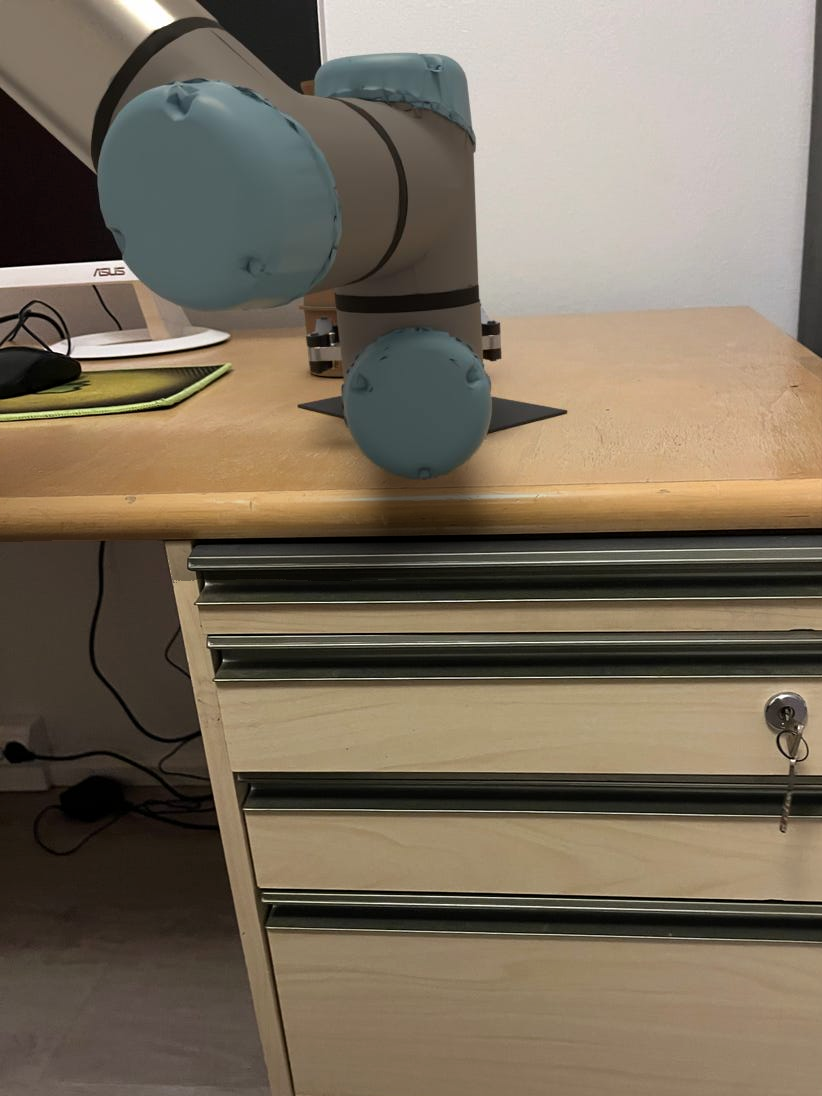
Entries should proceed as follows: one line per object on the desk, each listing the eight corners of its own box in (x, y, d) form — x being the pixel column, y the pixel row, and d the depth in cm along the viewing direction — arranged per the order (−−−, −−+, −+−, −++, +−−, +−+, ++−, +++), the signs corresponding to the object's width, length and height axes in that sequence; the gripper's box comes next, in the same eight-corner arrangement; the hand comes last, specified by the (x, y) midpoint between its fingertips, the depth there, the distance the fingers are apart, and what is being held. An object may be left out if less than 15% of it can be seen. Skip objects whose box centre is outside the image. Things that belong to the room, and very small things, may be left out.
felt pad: (297, 406, 83) (297, 404, 83) (410, 383, 90) (410, 381, 90) (447, 443, 69) (447, 440, 69) (567, 412, 76) (567, 410, 76)
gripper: (269, 432, 63) (294, 370, 84) (554, 412, 64) (508, 355, 85) (252, 310, 60) (282, 276, 81) (552, 291, 61) (505, 263, 82)
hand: (398, 317), depth 83 cm, fingers closed on supplement bottle, 5 cm apart
